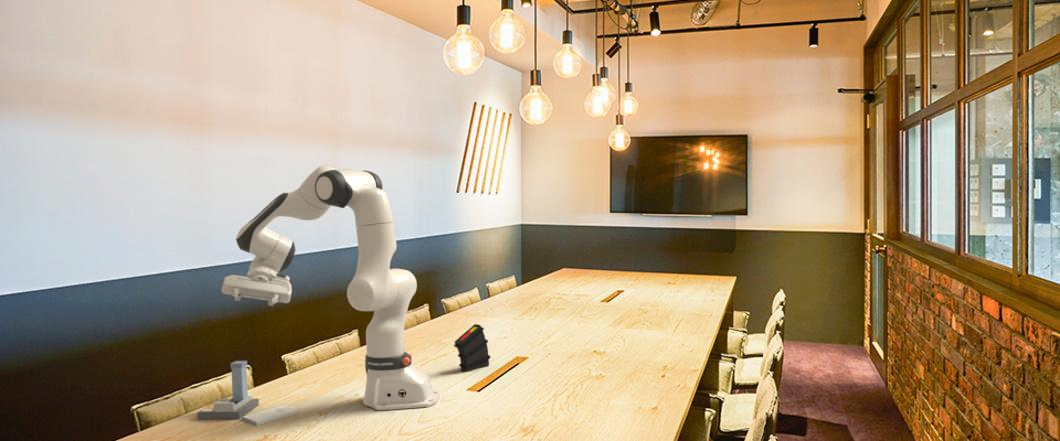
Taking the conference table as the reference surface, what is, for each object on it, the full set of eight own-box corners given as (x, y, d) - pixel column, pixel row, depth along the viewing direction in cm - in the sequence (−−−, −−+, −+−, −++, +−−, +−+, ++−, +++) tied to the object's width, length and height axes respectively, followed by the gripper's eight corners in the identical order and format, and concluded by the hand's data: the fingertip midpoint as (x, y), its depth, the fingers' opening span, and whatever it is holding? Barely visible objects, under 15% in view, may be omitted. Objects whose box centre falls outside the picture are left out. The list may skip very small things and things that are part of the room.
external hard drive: (241, 422, 187) (282, 409, 196) (257, 427, 181) (298, 415, 191) (241, 416, 186) (282, 404, 196) (256, 421, 181) (298, 409, 191)
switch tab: (248, 398, 199) (247, 360, 198) (243, 401, 195) (241, 363, 195) (237, 398, 199) (235, 360, 199) (232, 401, 196) (230, 363, 195)
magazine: (496, 359, 240) (482, 324, 235) (471, 382, 231) (456, 347, 226) (489, 357, 242) (474, 323, 237) (464, 380, 234) (449, 345, 229)
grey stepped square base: (258, 405, 199) (258, 390, 199) (239, 418, 187) (238, 403, 187) (219, 405, 200) (218, 391, 200) (197, 419, 188) (196, 403, 188)
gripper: (227, 266, 211) (219, 286, 199) (294, 277, 218) (290, 297, 205) (224, 284, 213) (215, 305, 201) (291, 294, 220) (287, 315, 207)
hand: (254, 301), depth 203 cm, fingers open, 8 cm apart
